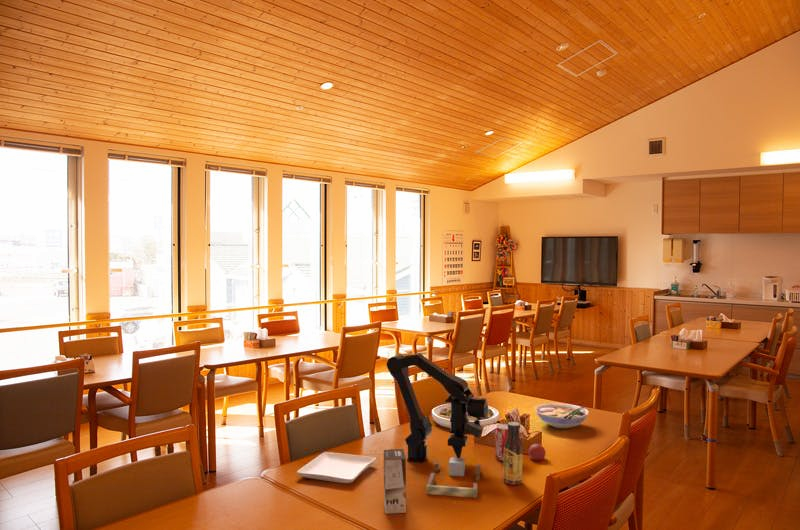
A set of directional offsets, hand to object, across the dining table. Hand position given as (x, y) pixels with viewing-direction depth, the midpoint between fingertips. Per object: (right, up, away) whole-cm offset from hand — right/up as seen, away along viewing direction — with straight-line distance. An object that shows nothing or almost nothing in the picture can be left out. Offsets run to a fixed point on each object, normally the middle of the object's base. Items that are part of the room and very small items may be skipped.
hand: (458, 458), depth 207 cm
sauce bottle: (+16, -3, -16) cm, 23 cm away
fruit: (+29, -3, +5) cm, 29 cm away
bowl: (+8, -2, +53) cm, 54 cm away
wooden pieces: (-3, -3, -15) cm, 15 cm away
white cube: (-1, -3, -7) cm, 8 cm away
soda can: (+18, -3, +6) cm, 19 cm away
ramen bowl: (+50, -2, +45) cm, 67 cm away
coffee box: (-23, -4, -34) cm, 41 cm away
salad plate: (-43, -4, -6) cm, 44 cm away
